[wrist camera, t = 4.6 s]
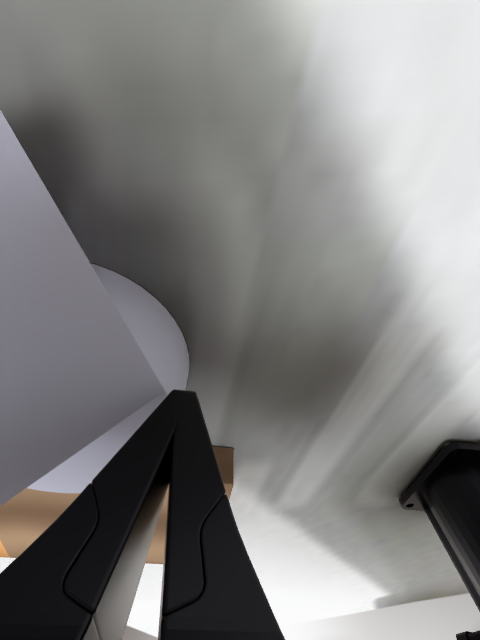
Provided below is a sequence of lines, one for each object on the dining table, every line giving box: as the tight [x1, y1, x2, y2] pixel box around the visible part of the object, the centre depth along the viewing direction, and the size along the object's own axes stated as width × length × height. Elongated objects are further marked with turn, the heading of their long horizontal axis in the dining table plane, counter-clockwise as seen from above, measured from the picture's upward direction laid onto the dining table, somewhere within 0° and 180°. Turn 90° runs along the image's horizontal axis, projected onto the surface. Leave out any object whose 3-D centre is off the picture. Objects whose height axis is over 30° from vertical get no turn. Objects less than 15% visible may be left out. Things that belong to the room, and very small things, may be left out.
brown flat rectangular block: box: [0, 446, 233, 564], centre depth 16 cm, size 10×20×2 cm, turn 80°
